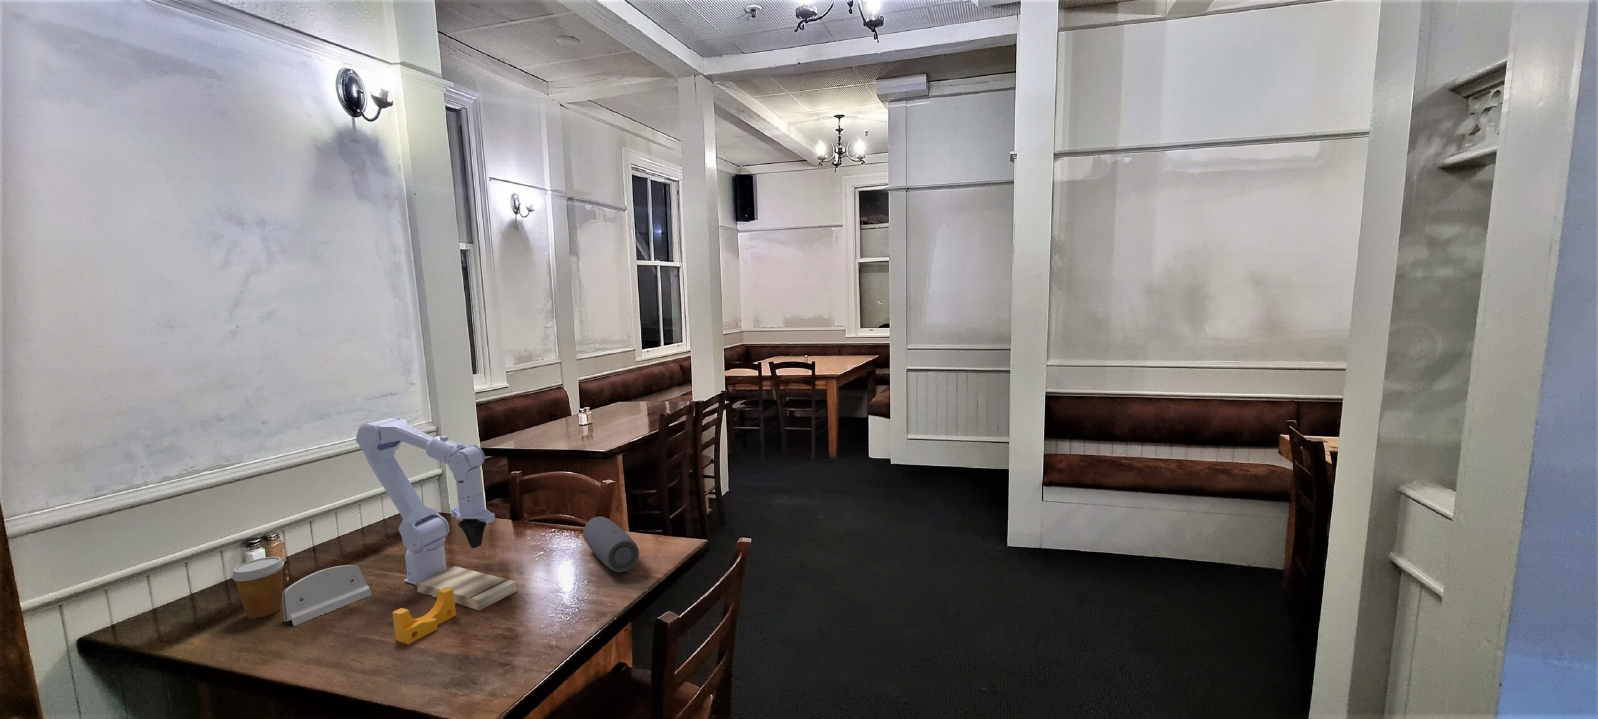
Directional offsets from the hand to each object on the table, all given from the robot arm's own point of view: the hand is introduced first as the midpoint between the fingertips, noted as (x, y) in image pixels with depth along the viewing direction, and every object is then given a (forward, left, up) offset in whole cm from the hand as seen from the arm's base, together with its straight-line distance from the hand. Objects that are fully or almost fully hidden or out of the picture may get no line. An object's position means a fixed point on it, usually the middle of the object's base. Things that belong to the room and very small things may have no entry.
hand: (476, 546), depth 157 cm
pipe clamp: (+10, -20, -10) cm, 24 cm away
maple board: (+2, -5, -9) cm, 11 cm away
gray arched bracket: (-24, -23, -10) cm, 35 cm away
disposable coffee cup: (-36, -31, -10) cm, 48 cm away
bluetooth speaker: (+24, +22, -10) cm, 34 cm away
